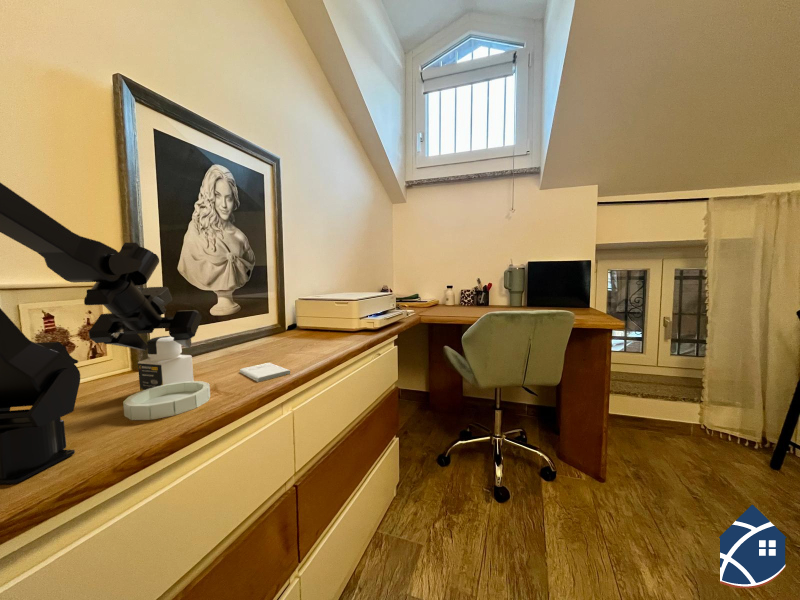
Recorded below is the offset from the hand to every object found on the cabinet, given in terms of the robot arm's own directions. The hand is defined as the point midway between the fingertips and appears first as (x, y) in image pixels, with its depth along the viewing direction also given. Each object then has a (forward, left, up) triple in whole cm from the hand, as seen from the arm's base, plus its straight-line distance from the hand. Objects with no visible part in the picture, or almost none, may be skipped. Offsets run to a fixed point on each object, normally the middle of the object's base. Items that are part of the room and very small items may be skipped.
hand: (168, 347), depth 69 cm
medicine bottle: (-1, 0, -10) cm, 10 cm away
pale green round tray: (-10, -8, -9) cm, 16 cm away
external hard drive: (+10, -17, -10) cm, 22 cm away
